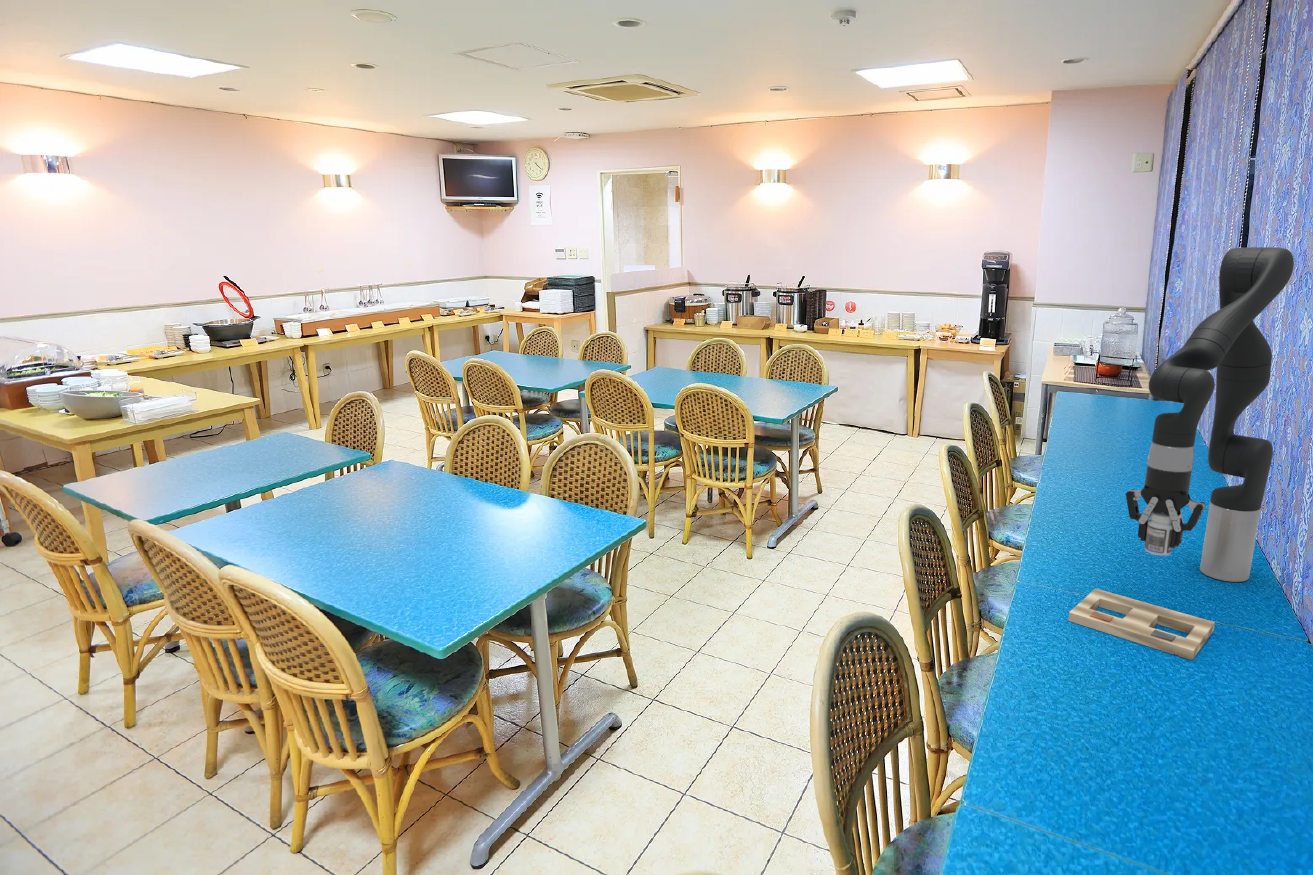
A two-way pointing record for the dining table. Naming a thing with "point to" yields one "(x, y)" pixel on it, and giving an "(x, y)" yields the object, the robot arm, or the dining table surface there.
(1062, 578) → the dining table surface
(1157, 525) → the pill bottle
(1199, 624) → the socket board
